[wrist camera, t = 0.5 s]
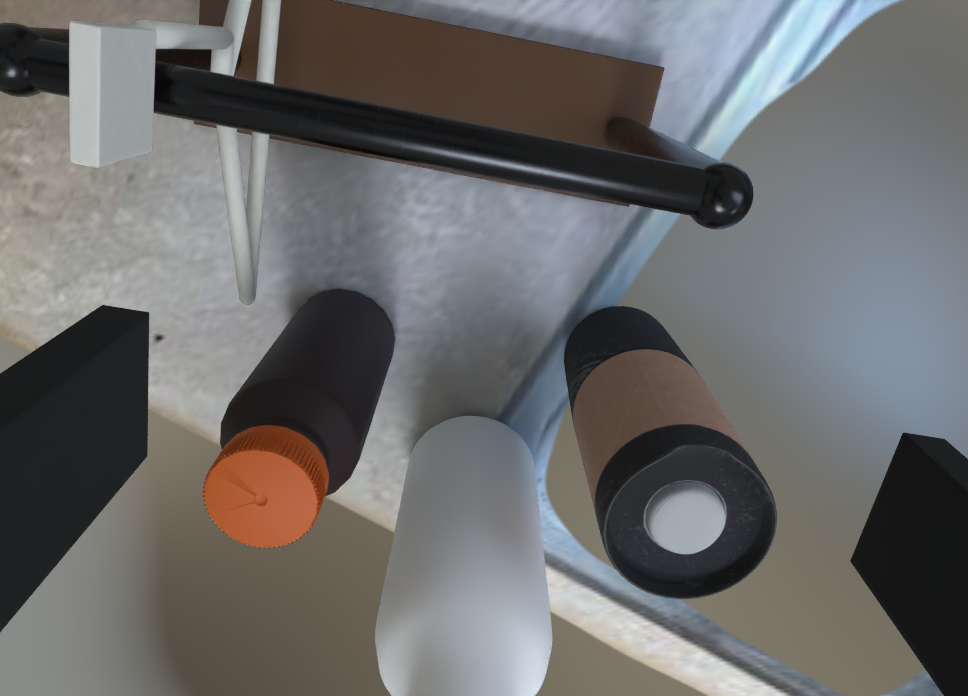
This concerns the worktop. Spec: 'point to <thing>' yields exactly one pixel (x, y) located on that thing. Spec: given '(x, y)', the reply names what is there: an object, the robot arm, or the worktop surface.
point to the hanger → (130, 103)
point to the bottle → (300, 420)
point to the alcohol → (466, 569)
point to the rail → (428, 103)
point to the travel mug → (663, 461)
